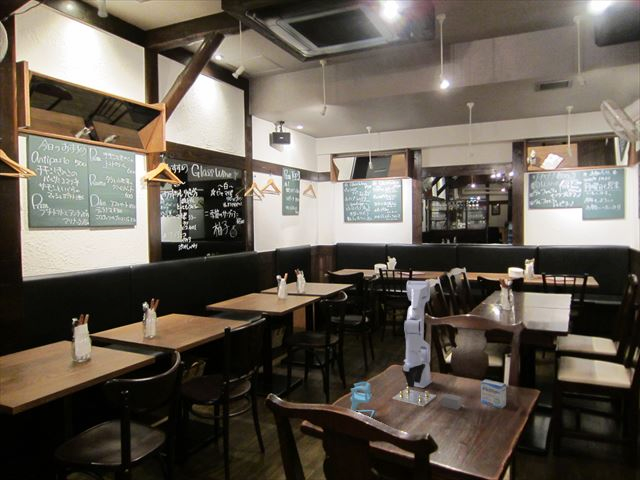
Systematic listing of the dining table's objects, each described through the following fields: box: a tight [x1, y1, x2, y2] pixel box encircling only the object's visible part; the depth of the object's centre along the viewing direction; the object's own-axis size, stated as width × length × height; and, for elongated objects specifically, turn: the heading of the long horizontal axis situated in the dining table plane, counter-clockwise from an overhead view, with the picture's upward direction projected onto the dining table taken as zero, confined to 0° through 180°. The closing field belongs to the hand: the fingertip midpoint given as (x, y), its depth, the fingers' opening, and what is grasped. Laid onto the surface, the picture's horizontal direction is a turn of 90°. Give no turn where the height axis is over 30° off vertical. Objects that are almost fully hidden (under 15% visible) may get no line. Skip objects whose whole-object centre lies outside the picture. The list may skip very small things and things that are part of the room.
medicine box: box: [480, 378, 507, 409], centre depth 164 cm, size 8×4×9 cm, turn 47°
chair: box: [349, 381, 375, 417], centre depth 157 cm, size 8×8×12 cm
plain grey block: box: [441, 393, 462, 411], centre depth 163 cm, size 9×11×5 cm
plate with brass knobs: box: [392, 386, 437, 407], centre depth 172 cm, size 12×13×3 cm
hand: (414, 384), depth 172 cm, fingers open, 5 cm apart
